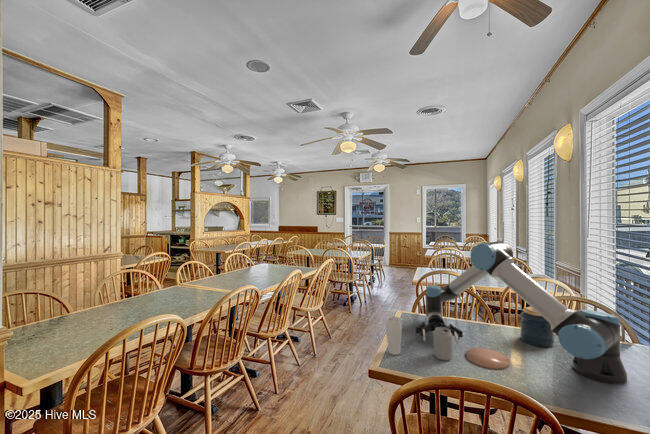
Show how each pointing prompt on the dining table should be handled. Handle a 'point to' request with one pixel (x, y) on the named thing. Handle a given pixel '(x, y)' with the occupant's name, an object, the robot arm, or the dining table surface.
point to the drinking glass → (394, 334)
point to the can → (443, 343)
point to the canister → (535, 329)
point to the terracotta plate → (488, 358)
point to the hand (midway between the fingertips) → (440, 339)
